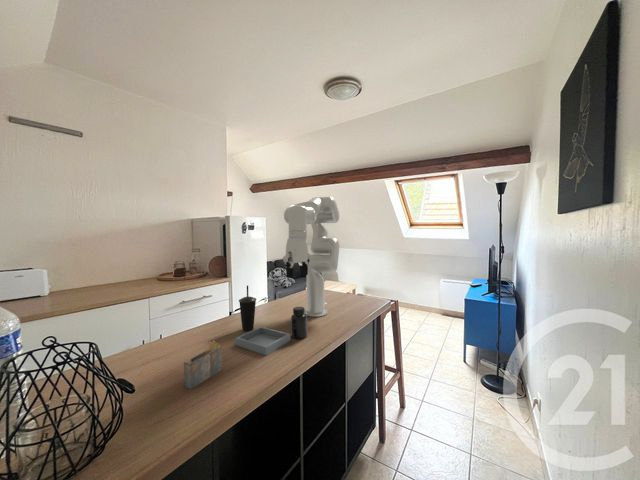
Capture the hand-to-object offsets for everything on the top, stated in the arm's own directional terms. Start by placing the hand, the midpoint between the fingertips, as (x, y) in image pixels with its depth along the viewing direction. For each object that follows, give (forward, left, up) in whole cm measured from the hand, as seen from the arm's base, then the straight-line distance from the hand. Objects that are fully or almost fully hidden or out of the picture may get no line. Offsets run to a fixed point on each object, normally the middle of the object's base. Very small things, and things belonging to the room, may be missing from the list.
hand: (297, 276), depth 109 cm
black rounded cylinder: (+6, -23, -26) cm, 35 cm away
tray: (+13, -7, -26) cm, 29 cm away
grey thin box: (+40, -6, -26) cm, 48 cm away
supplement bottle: (0, +1, -26) cm, 26 cm away
